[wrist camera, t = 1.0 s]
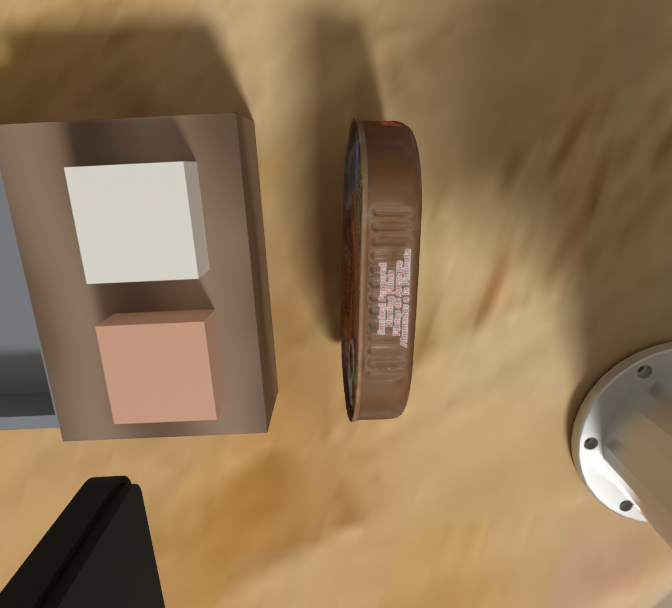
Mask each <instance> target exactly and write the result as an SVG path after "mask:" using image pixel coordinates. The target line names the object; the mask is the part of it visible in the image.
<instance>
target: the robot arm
mask: <svg viewBox="0 0 672 608" xmlns="http://www.w3.org/2000/svg"><path fill="white" fill-rule="evenodd" d="M571 446H572V457H573V461H574V464H575V467H576V471H577V473H578V474H579V476H580V478H581V479H582V481H583V483H584V484H585V486H586V487H587V488H588V489H589V491H590V492H591V493H592V494H593V495H594V497H595V498H596V499H597V500H598V501H600V502H601V503H602V504H603V505H604V506H606V507H607V508H608V509H610V510H612V511H613V512H615V513H617V514H619V515H621V516H624V517H628V518H631V519H634V520H637V521H645V522H649V523H650V524H651V525H652V527H653V528H654V529H655V530H656V531H657V532H658V533H659V535H660V536H661V537H662V538H663V539H664V540H665V541H666V543H667V544H668V545H669V546H670V547H671V548H672V342H669V343H664V344H660V345H655V346H652V347H650V348H647V349H645V350H642V351H640V352H637V353H635V354H633V355H632V356H630V357H628V358H626V359H625V360H623V361H621V362H620V363H618V364H617V365H615V366H614V367H613V368H612V369H611V370H609V371H608V372H607V373H606V374H605V375H603V376H602V377H601V378H600V380H599V381H598V382H597V383H596V384H595V385H594V387H593V388H592V389H591V390H590V391H589V393H588V394H587V396H586V398H585V399H584V401H583V403H582V404H581V406H580V408H579V411H578V413H577V416H576V419H575V422H574V425H573V431H572V438H571ZM0 608H165V605H164V600H163V595H162V590H161V585H160V580H159V575H158V570H157V565H156V560H155V555H154V551H153V546H152V541H151V536H150V531H149V526H148V521H147V516H146V511H145V506H144V501H143V496H142V491H141V488H140V486H139V485H137V484H131V481H130V479H129V478H128V477H127V476H109V477H93V478H90V479H88V480H87V481H86V482H85V483H84V484H83V486H82V487H81V488H80V490H79V491H78V492H77V494H76V495H75V496H74V497H73V499H72V500H71V501H70V503H69V504H68V505H67V507H66V508H65V509H64V511H63V512H62V513H61V514H60V516H59V517H58V518H57V520H56V521H55V522H54V524H53V525H52V526H51V528H50V529H49V530H48V531H47V533H46V534H45V535H44V537H43V538H42V539H41V541H40V542H39V543H38V544H37V546H36V547H35V548H34V550H33V551H32V552H31V554H30V555H29V556H28V558H27V559H26V560H25V561H24V563H23V564H22V565H21V567H20V568H19V569H18V571H17V572H16V573H15V574H14V576H13V577H12V578H11V580H10V581H9V582H8V584H7V585H6V586H5V588H4V589H3V590H2V591H1V593H0Z"/></svg>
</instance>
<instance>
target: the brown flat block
mask: <svg viewBox="0 0 672 608" xmlns="http://www.w3.org/2000/svg"><path fill="white" fill-rule="evenodd" d="M181 161H187V162H197V169H198V177H199V185H200V193H201V202H202V210H203V218H204V226H205V234H206V242H207V251H208V259H209V267H210V270H208V271H207V272H206V273H205V274H204V275H202V276H201V277H200V278H199V279H183V280H162V281H141V282H119V283H98V284H87V283H86V278H85V273H84V268H83V263H82V257H81V252H80V247H79V242H78V237H77V232H76V227H75V222H74V217H73V212H72V207H71V201H70V196H69V191H68V186H67V181H66V176H65V171H64V167H82V166H102V165H122V164H142V163H161V162H181ZM0 170H1V175H2V179H3V183H4V188H5V192H6V196H7V201H8V205H9V209H10V214H11V218H12V222H13V226H14V231H15V235H16V239H17V244H18V248H19V252H20V257H21V261H22V265H23V270H24V274H25V278H26V283H27V287H28V291H29V296H30V300H31V304H32V309H33V313H34V317H35V321H36V326H37V330H38V334H39V339H40V343H41V347H42V352H43V356H44V360H45V365H46V369H47V373H48V378H49V382H50V386H51V391H52V395H53V399H54V404H55V408H56V412H57V416H58V421H59V425H60V429H61V434H62V438H63V441H83V440H106V439H130V438H153V437H177V436H200V435H223V434H247V433H267V432H268V428H269V424H270V420H271V416H272V412H273V409H274V405H275V401H276V397H277V393H278V384H277V373H276V362H275V350H274V339H273V328H272V317H271V305H270V294H269V283H268V272H267V261H266V249H265V238H264V227H263V216H262V205H261V193H260V182H259V171H258V160H257V148H256V137H255V126H254V122H253V121H251V120H249V119H247V118H245V117H244V116H242V115H240V114H238V113H236V112H234V113H215V114H196V115H176V116H157V117H137V118H118V119H99V120H79V121H60V122H41V123H21V124H2V125H0ZM204 309H215V316H216V324H217V332H218V340H219V348H220V356H221V365H222V373H223V381H224V389H225V397H226V401H225V403H224V406H223V408H222V410H221V412H220V414H219V416H218V418H217V420H200V421H177V422H153V423H130V424H114V421H113V415H112V410H111V405H110V400H109V395H108V390H107V385H106V380H105V375H104V370H103V364H102V359H101V354H100V349H99V344H98V339H97V334H96V329H95V326H97V325H98V324H100V323H101V322H103V321H104V320H106V319H107V318H109V317H110V316H112V315H113V314H117V313H139V312H160V311H182V310H204Z"/></svg>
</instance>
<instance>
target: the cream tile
mask: <svg viewBox="0 0 672 608" xmlns="http://www.w3.org/2000/svg"><path fill="white" fill-rule="evenodd" d="M64 171H65V176H66V181H67V186H68V191H69V196H70V201H71V207H72V212H73V217H74V222H75V227H76V232H77V237H78V242H79V247H80V252H81V257H82V263H83V268H84V273H85V278H86V283H87V284H98V283H119V282H141V281H162V280H183V279H199V278H200V277H201V276H202V275H204V274H205V273H206V272H207V271H208V270H210V267H209V259H208V251H207V242H206V234H205V226H204V218H203V210H202V202H201V193H200V185H199V177H198V169H197V162H187V161H181V162H161V163H142V164H122V165H102V166H82V167H64Z"/></svg>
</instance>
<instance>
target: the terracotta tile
mask: <svg viewBox="0 0 672 608" xmlns="http://www.w3.org/2000/svg"><path fill="white" fill-rule="evenodd" d="M95 329H96V334H97V339H98V344H99V349H100V354H101V359H102V364H103V370H104V375H105V380H106V385H107V390H108V395H109V400H110V405H111V410H112V415H113V421H114V424H130V423H153V422H177V421H200V420H217V418H218V416H219V414H220V412H221V410H222V408H223V406H224V403H225V401H226V397H225V389H224V381H223V373H222V365H221V356H220V348H219V340H218V332H217V324H216V316H215V309H204V310H182V311H160V312H139V313H117V314H113V315H112V316H110V317H109V318H107V319H106V320H104V321H103V322H101V323H100V324H98V325H97V326H95Z"/></svg>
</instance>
